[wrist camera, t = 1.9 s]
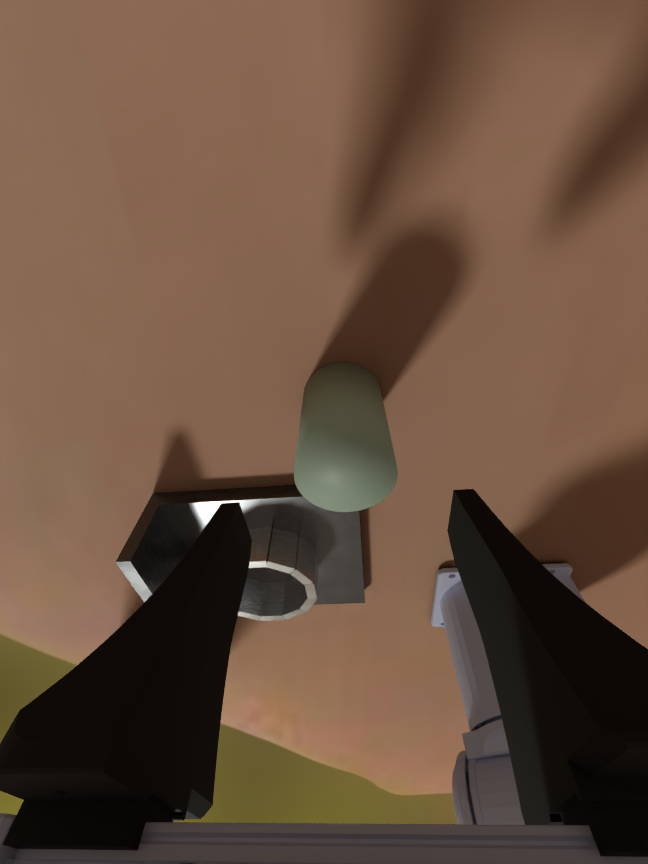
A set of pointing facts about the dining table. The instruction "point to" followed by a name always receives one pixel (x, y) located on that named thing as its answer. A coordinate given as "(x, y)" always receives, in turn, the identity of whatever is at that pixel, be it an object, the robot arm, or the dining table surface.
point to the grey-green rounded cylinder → (344, 440)
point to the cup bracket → (255, 548)
